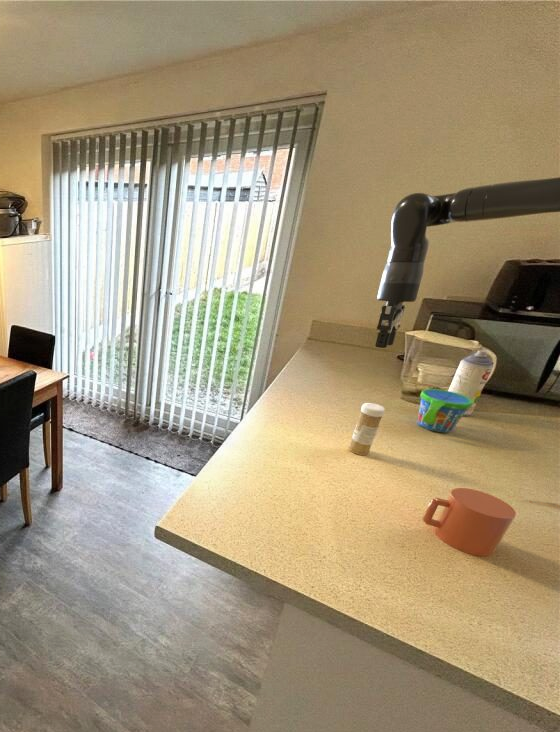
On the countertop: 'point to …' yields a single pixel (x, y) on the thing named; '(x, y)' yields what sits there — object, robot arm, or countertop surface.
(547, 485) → the countertop surface
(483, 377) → the aerosol can
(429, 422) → the snack cup
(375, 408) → the brown spice jar
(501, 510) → the upturned cup
